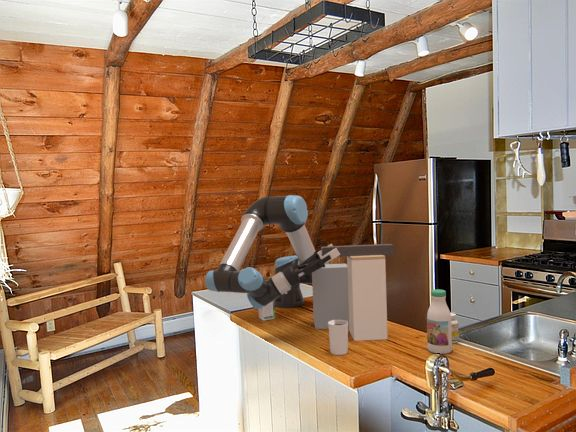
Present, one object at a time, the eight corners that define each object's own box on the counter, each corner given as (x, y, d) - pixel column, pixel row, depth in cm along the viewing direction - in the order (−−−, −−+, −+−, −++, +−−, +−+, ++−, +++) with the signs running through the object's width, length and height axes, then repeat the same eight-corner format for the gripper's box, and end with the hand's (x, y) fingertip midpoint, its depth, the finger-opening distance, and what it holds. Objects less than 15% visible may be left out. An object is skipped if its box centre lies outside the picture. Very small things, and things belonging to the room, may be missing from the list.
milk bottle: (434, 344, 155) (433, 287, 154) (456, 349, 149) (455, 289, 148) (423, 351, 149) (421, 291, 148) (445, 356, 144) (444, 294, 143)
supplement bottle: (458, 344, 154) (457, 316, 154) (441, 343, 156) (441, 315, 156) (458, 339, 159) (458, 312, 159) (442, 338, 161) (442, 311, 161)
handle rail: (321, 256, 168) (321, 246, 167) (391, 253, 168) (390, 243, 168) (322, 257, 164) (322, 247, 164) (393, 254, 165) (393, 244, 165)
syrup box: (263, 321, 192) (261, 287, 191) (258, 317, 197) (257, 284, 197) (275, 319, 194) (274, 285, 193) (270, 316, 200) (269, 283, 199)
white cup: (345, 347, 155) (344, 319, 155) (351, 354, 149) (350, 324, 148) (326, 349, 154) (325, 320, 154) (332, 356, 148) (331, 326, 147)
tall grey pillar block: (313, 322, 187) (311, 264, 186) (347, 321, 187) (345, 263, 186) (315, 329, 178) (313, 268, 177) (351, 327, 178) (349, 267, 177)
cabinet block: (349, 331, 173) (346, 253, 172) (380, 330, 173) (378, 252, 172) (354, 340, 162) (351, 257, 161) (387, 339, 162) (385, 256, 161)
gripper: (291, 281, 178) (336, 252, 178) (293, 295, 153) (346, 262, 153) (281, 265, 178) (326, 236, 178) (281, 277, 153) (334, 243, 153)
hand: (335, 248), depth 166 cm, fingers open, 13 cm apart
